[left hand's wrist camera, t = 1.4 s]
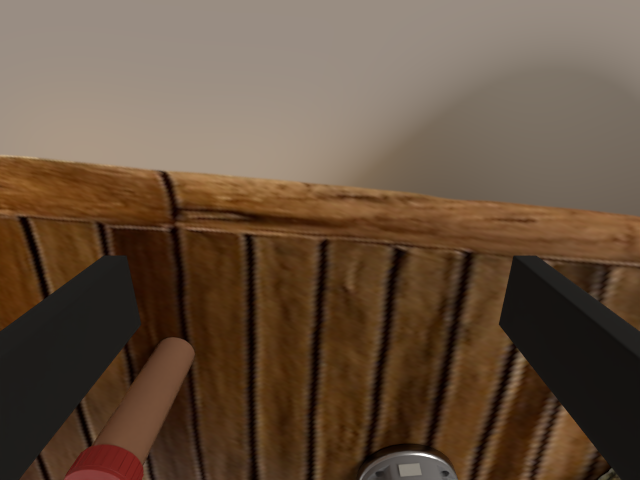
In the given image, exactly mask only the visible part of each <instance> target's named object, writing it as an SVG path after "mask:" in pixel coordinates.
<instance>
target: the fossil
mask: <svg viewBox="0 0 640 480" xmlns="http://www.w3.org/2000/svg"><path fill="white" fill-rule="evenodd" d="M598 480H621V479H620V478H619V476H618V475H617V474H616V472H615V471H614V470H613V469H612V468H611V469H610V470H609V472H608V473H606V474H604V475H603V476H601V477H600V478H599V479H598Z"/></svg>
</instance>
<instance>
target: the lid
mask: <svg viewBox="0 0 640 480" xmlns="http://www.w3.org/2000/svg"><path fill="white" fill-rule="evenodd" d="M143 475H144V474H143V466H142V464H141V462H140V460H139V459H138V458H137V457H136V456H135V455H134V454H133V453H131V452H130V451H128V450H126V449H124V448H121V447H118V446H114V445H107V444H102V445H95V446H91V447H89V448H87V449H86V450H84V451H83V452H81V453H80V455H79V456H78V458H77V459H76V461H75V462H74V464H73V465H72V466H71V468H70V469H69V471H68V472H67V474H66V475H65V476H66V477H65V478H64V480H142V477H143Z"/></svg>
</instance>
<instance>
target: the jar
mask: <svg viewBox="0 0 640 480" xmlns="http://www.w3.org/2000/svg"><path fill="white" fill-rule="evenodd" d="M194 358H195V353H194V349H193V348H192V346H191V345H190V344H189V343H188V342H187V341H185V340H183V339H180V338H176V337H170V338H166V339H164V340H162V341H161V342H160V343H159V344H158V345H157V347H156V348H155V350H154V351H153V353H152V354H151V356H150V357H149V359H148V360H147V362H146V363H145V365H144V367H143V368H142V370H141V371H140V373H139V374H138V376H137V377H136V379H135V380H134V382H133V383H132V385H131V386H130V388H129V389H128V391H127V392H126V394H125V396H124V397H123V399H122V400H121V402H120V403H119V405H118V406H117V408H116V409H115V411H114V412H113V414H112V415H111V417H110V418H109V420H108V421H107V423H106V425H105V426H104V428H103V429H102V431H101V432H100V434H99V435H98V437H97V438H96V440H95V441H94V443H93V444H92V446H95V445H102V444H107V445H114V446H118V447H121V448H124V449H126V450H128V451H130V452H131V453H133V454H134V455H135V456H136V457H137V458H138V459H139V460H140V462H141V464H142V466H143V465H144V463H145V460H146V458H147V456H148V454H149V452H150V450H151V448H152V446H153V444H154V442H155V440H156V438H157V435H158V433H159V431H160V429H161V427H162V425H163V423H164V421H165V419H166V417H167V415H168V413H169V411H170V408H171V406H172V404H173V402H174V400H175V398H176V396H177V394H178V392H179V390H180V388H181V386H182V383H183V381H184V379H185V377H186V375H187V373H188V371H189V369H190V367H191V365H192V363H193V361H194Z"/></svg>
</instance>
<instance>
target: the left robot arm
mask: <svg viewBox="0 0 640 480" xmlns="http://www.w3.org/2000/svg"><path fill="white" fill-rule="evenodd" d="M140 325H141V321H140V317H139V312H138V308H137V303H136V298H135V294H134V289H133V284H132V280H131V275H130V270H129V266H128V261H127V256H103V257H101V258H100V259H99V260H97V261H96V262H95V263H93V264H92V265H90V266H89V267H88V268H86V269H85V270H84V271H82V272H81V273H79V274H78V275H77V276H75V277H74V278H73V279H71V280H70V281H69V282H67V283H66V284H64V285H63V286H62V287H60V288H59V289H58V290H56V291H55V292H54V293H52V294H51V295H49V296H48V297H47V298H45V299H44V300H43V301H41V302H40V303H39V304H37V305H36V306H34V307H33V308H32V309H30V310H29V311H28V312H26V313H25V314H24V315H22V316H21V317H19V318H18V319H17V320H15V321H14V322H13V323H11V324H10V325H8V326H7V327H6V328H4V329H3V330H2V331H0V480H19V479H20V478H21V476H22V475H23V474H24V472H25V471H26V470H27V469H28V467H29V466H30V465H31V464H32V462H33V461H34V460H35V459H36V457H37V456H38V455H39V453H40V452H41V451H42V450H43V448H44V447H45V446H46V445H47V443H48V442H49V441H50V439H51V438H52V437H53V436H54V434H55V433H56V432H57V431H58V429H59V428H60V427H61V426H62V424H63V423H64V422H65V420H66V419H67V418H68V417H69V415H70V414H71V413H72V412H73V410H74V409H75V408H76V406H77V405H78V404H79V403H80V401H81V400H82V399H83V398H84V396H85V395H86V394H87V393H88V391H89V390H90V389H91V387H92V386H93V385H94V384H95V382H96V381H97V380H98V379H99V377H100V376H101V375H102V373H103V372H104V371H105V370H106V368H107V367H108V366H109V365H110V363H111V362H112V361H113V359H114V358H115V357H116V356H117V354H118V353H119V352H120V351H121V349H122V348H123V347H124V346H125V344H126V343H127V342H128V340H129V339H130V338H131V337H132V335H133V334H134V333H135V332H136V330H137V329H138V328H139V326H140ZM499 325H500V326H501V328H502V329H503V330H504V332H505V333H506V334H507V335H508V337H509V338H510V339H511V340H512V342H513V343H514V344H515V346H516V347H517V348H518V349H519V351H520V352H521V353H522V354H523V356H524V357H525V358H526V359H527V361H528V362H529V363H530V365H531V366H532V367H533V368H534V370H535V371H536V372H537V373H538V375H539V376H540V377H541V379H542V380H543V381H544V382H545V384H546V385H547V386H548V387H549V389H550V390H551V391H552V393H553V394H554V395H555V396H556V398H557V399H558V400H559V401H560V403H561V404H562V405H563V406H564V408H565V409H566V410H567V412H568V413H569V414H570V415H571V417H572V418H573V419H574V420H575V422H576V423H577V424H578V426H579V427H580V428H581V429H582V431H583V432H584V433H585V434H586V436H587V437H588V438H589V439H590V441H591V442H592V443H593V445H594V446H595V447H596V448H597V450H598V451H599V452H600V453H601V455H602V456H603V457H604V459H605V460H606V461H607V462H608V464H609V465H610V466H611V467H612V469H613V470H614V471H615V472H616V474H617V475H618V476H619V478H620V479H621V480H640V331H638V330H637V329H636V328H634V327H633V326H632V325H630V324H629V323H627V322H626V321H625V320H623V319H622V318H621V317H619V316H618V315H616V314H615V313H614V312H612V311H611V310H610V309H608V308H607V307H606V306H604V305H603V304H601V303H600V302H599V301H597V300H596V299H595V298H593V297H592V296H591V295H589V294H588V293H586V292H585V291H584V290H582V289H581V288H580V287H578V286H577V285H576V284H574V283H573V282H571V281H570V280H569V279H567V278H566V277H565V276H563V275H562V274H561V273H559V272H558V271H556V270H555V269H554V268H552V267H551V266H550V265H548V264H547V263H545V262H544V261H543V260H541V259H540V258H539V257H537V256H513V261H512V266H511V270H510V275H509V280H508V284H507V289H506V294H505V298H504V303H503V308H502V312H501V317H500V321H499ZM357 480H458V479H457V476H456V473H455V470H454V467H453V465H452V463H451V461H450V460H449V459H448V458H447V457H446V456H445V455H444V454H443V453H441V452H440V451H438V450H436V449H434V448H431V447H428V446H424V445H417V444H403V445H396V446H392V447H388V448H385V449H383V450H380V451H378V452H377V453H375V454H373V455H372V456H371V457H369V458H368V459H367V460H366V461H365V462H364V463H363V464H362V466H361V467H360V469H359V471H358V474H357Z"/></svg>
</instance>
